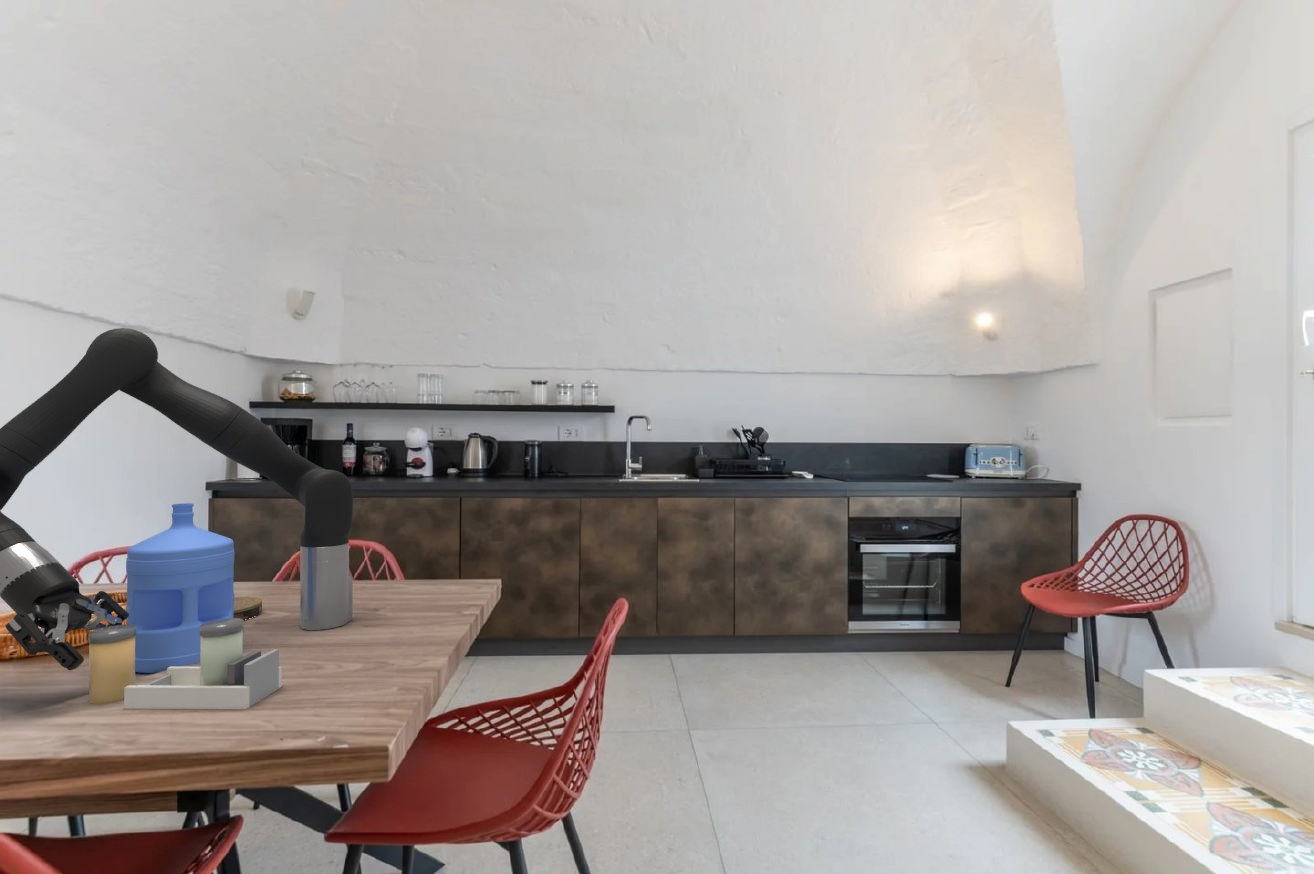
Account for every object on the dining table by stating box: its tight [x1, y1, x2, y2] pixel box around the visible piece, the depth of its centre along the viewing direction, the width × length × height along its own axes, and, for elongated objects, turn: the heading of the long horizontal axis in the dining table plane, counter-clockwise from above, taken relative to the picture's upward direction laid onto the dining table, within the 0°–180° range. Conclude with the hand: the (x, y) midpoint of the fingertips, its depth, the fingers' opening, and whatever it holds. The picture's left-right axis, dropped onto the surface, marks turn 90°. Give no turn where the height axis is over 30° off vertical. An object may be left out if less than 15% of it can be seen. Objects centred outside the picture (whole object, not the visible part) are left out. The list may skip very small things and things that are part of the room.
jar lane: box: [123, 648, 283, 710], centre depth 94 cm, size 18×8×7 cm, turn 89°
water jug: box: [125, 502, 236, 674], centre depth 113 cm, size 16×16×28 cm
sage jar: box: [199, 618, 245, 686], centre depth 94 cm, size 5×5×11 cm
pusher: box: [227, 650, 262, 686], centre depth 94 cm, size 2×6×6 cm, turn 179°
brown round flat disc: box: [233, 596, 263, 620], centre depth 140 cm, size 16×16×3 cm
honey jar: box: [87, 624, 136, 705], centre depth 94 cm, size 5×5×11 cm
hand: (104, 655), depth 94 cm, fingers open, 8 cm apart
